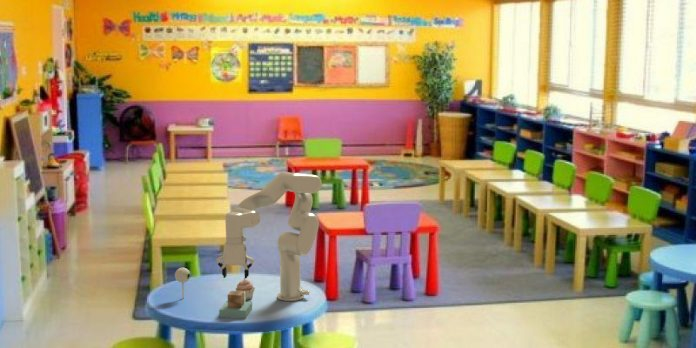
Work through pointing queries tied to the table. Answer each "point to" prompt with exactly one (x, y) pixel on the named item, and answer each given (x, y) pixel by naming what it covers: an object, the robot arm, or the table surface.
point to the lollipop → (182, 277)
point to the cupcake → (246, 288)
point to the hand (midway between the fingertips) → (235, 277)
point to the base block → (236, 310)
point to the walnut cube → (235, 299)
